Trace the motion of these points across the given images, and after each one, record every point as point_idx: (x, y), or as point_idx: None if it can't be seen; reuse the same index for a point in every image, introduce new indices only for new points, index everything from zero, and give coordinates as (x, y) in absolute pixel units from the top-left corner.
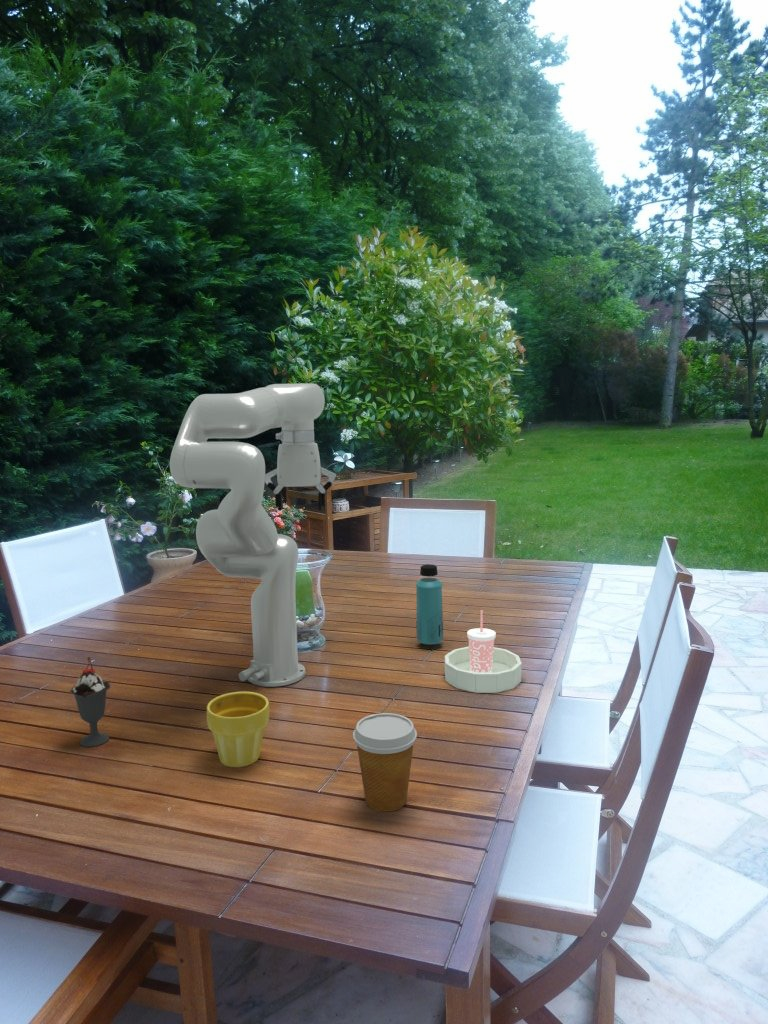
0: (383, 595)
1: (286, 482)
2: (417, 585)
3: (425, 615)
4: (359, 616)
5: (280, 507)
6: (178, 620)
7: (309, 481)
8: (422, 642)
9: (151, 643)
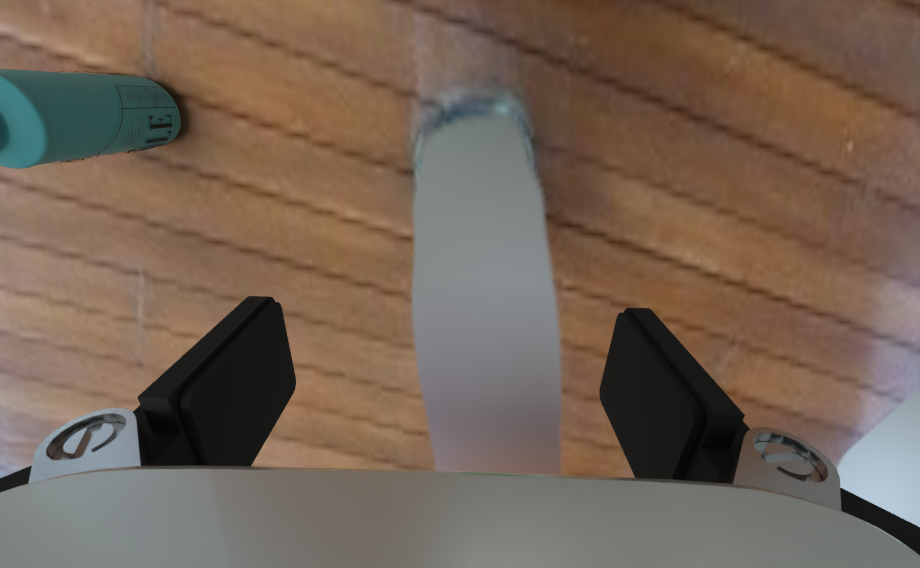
0: (323, 431)
1: (746, 557)
2: (28, 102)
3: (86, 77)
4: (356, 319)
5: (636, 322)
6: (742, 325)
7: (111, 558)
8: (159, 86)
9: (816, 184)
